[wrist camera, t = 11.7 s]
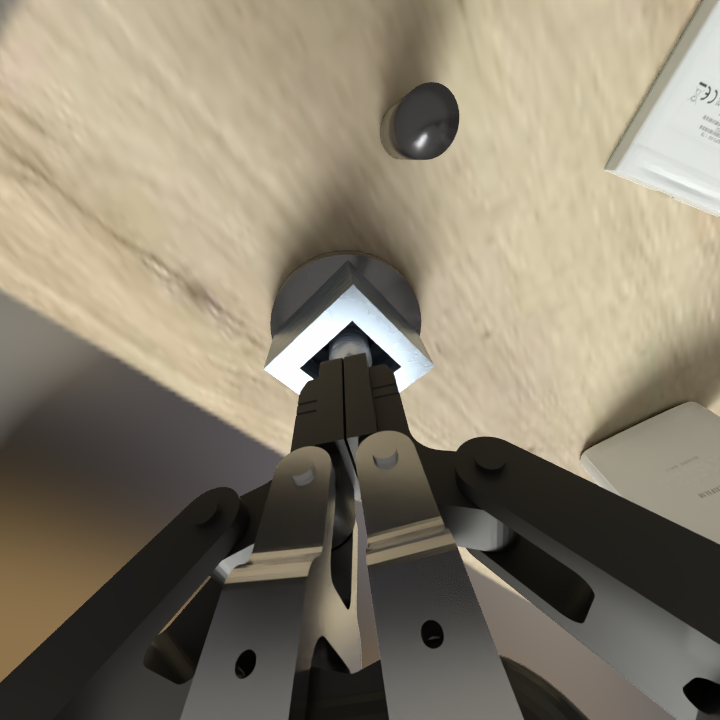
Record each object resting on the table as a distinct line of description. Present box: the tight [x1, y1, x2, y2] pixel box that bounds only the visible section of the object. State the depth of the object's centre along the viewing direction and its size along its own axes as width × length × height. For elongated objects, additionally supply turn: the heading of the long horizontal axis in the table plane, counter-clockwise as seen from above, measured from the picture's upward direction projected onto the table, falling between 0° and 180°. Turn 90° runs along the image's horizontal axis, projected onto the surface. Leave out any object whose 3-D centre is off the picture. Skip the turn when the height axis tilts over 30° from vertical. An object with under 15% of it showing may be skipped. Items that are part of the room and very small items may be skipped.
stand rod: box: [380, 82, 459, 160], centre depth 13 cm, size 2×2×4 cm
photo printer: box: [581, 402, 720, 544], centre depth 23 cm, size 10×4×12 cm, turn 125°
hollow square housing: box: [264, 260, 434, 394], centre depth 18 cm, size 6×6×4 cm
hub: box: [270, 251, 421, 367], centre depth 18 cm, size 9×9×4 cm
